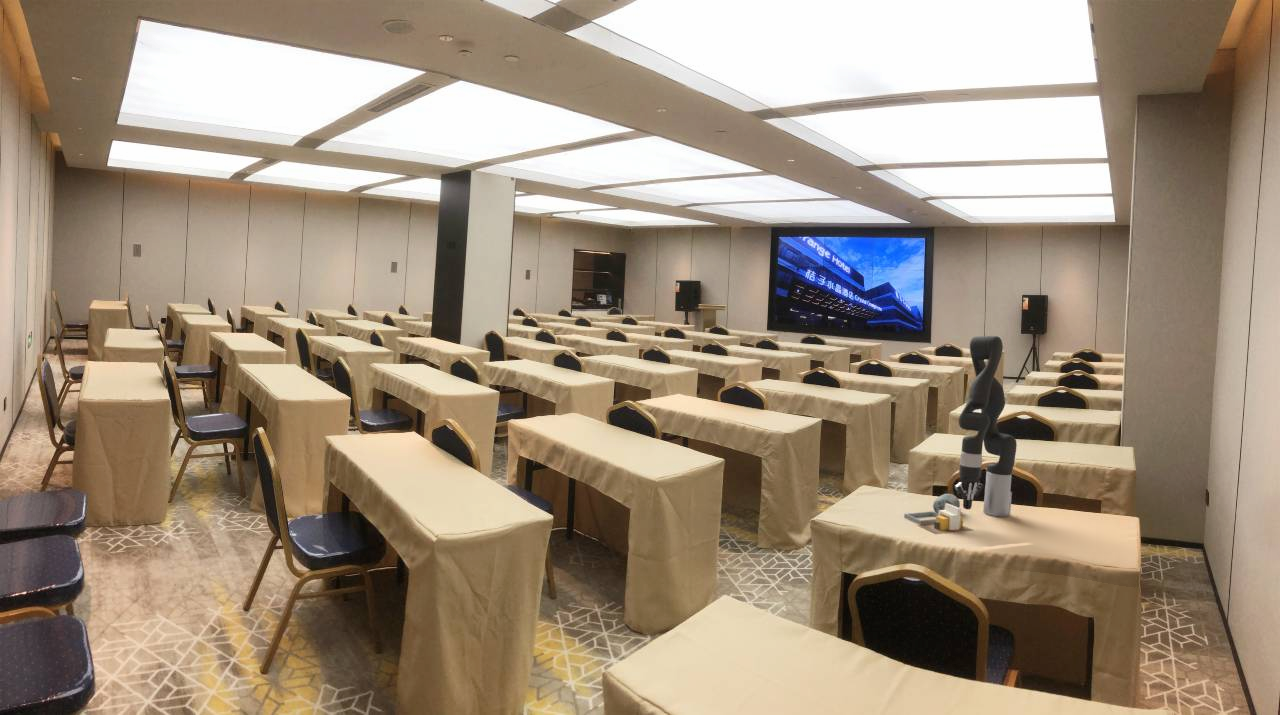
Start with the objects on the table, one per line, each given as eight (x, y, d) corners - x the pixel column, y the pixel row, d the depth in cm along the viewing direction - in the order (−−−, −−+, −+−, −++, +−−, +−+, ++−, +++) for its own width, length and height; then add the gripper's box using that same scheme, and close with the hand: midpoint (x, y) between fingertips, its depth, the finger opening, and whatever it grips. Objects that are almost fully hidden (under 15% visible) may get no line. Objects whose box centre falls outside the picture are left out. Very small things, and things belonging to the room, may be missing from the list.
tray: (931, 517, 289) (932, 511, 289) (948, 524, 280) (949, 518, 280) (904, 519, 284) (904, 513, 284) (920, 527, 276) (920, 521, 276)
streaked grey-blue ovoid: (955, 514, 283) (947, 489, 287) (932, 519, 289) (924, 495, 293) (968, 515, 292) (960, 491, 296) (946, 521, 298) (938, 497, 302)
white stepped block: (945, 523, 277) (947, 503, 277) (959, 529, 271) (960, 508, 270) (937, 524, 276) (939, 504, 275) (950, 530, 270) (952, 509, 269)
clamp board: (954, 524, 281) (954, 515, 280) (973, 532, 271) (974, 523, 271) (916, 527, 275) (916, 519, 274) (935, 536, 265) (935, 527, 265)
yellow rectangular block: (954, 525, 277) (955, 514, 276) (961, 528, 273) (962, 517, 273) (935, 526, 274) (936, 516, 273) (942, 529, 270) (943, 519, 270)
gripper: (976, 461, 280) (973, 504, 281) (949, 462, 275) (945, 507, 277) (992, 465, 273) (988, 510, 274) (964, 467, 268) (960, 512, 270)
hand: (967, 508), depth 276 cm, fingers closed
